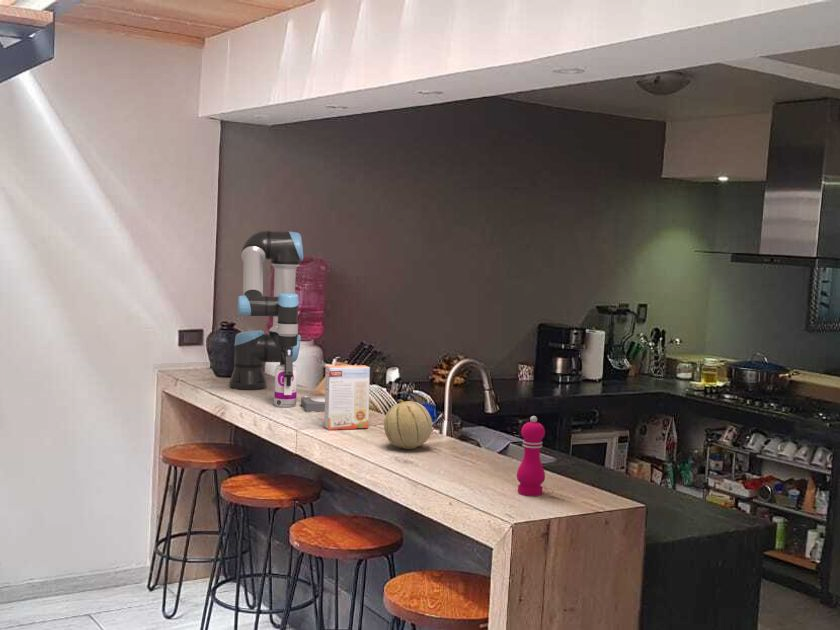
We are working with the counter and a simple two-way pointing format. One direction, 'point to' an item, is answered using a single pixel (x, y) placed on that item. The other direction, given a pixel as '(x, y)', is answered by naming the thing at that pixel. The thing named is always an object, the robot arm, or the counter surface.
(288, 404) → the supplement can
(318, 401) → the grey flat block
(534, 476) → the pepper mill
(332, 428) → the cracker box
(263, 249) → the robot arm
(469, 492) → the counter surface
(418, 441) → the cantaloupe
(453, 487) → the counter surface
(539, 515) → the counter surface
